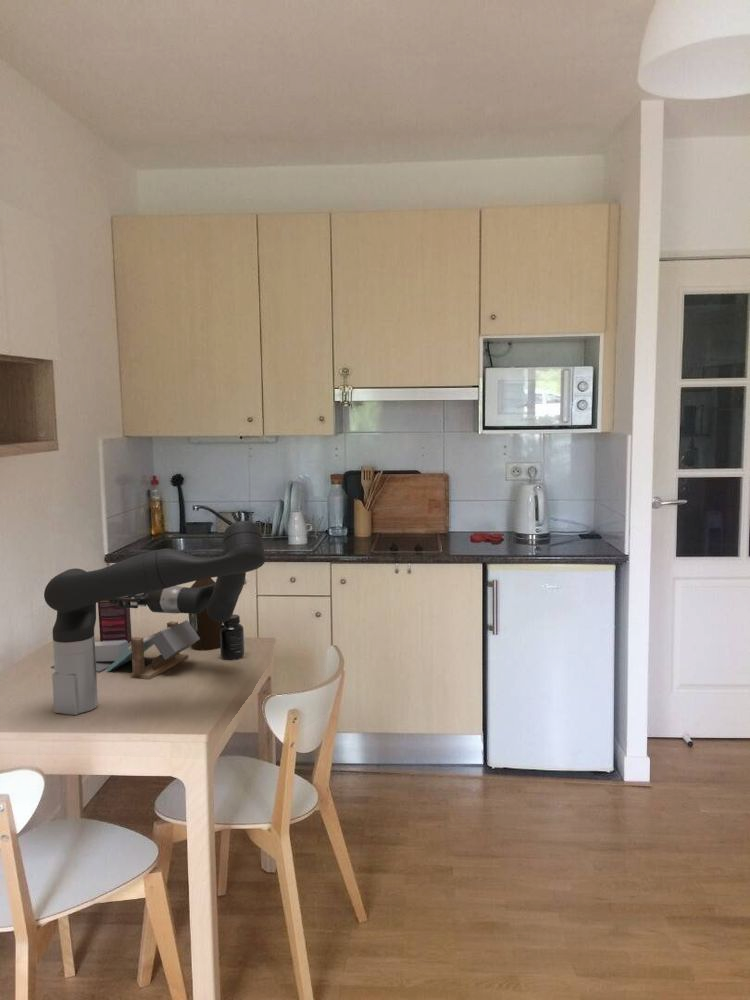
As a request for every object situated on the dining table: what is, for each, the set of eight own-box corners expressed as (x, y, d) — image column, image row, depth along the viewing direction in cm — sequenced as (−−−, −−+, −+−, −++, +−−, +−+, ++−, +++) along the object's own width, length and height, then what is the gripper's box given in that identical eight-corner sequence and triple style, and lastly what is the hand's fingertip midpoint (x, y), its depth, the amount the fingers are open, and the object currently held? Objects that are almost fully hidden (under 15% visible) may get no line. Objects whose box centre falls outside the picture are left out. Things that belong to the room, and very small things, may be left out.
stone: (118, 645, 215) (75, 646, 219) (120, 660, 216) (77, 661, 220) (127, 640, 220) (85, 642, 224) (129, 656, 220) (87, 657, 224)
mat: (99, 672, 211) (99, 671, 211) (51, 667, 216) (51, 666, 216) (134, 655, 226) (134, 654, 226) (88, 651, 231) (88, 650, 231)
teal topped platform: (201, 638, 218) (184, 614, 219) (174, 652, 204) (156, 627, 205) (152, 677, 224) (136, 653, 225) (122, 693, 211) (105, 668, 212)
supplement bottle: (216, 656, 224) (214, 616, 222) (237, 651, 228) (235, 612, 227) (228, 661, 218) (226, 620, 217) (249, 656, 223) (247, 616, 222)
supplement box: (132, 642, 240) (129, 592, 239) (128, 646, 235) (125, 595, 234) (104, 643, 240) (101, 593, 238) (99, 647, 235) (96, 596, 233)
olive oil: (219, 639, 242) (215, 560, 239) (229, 647, 233) (226, 565, 230) (185, 644, 237) (181, 564, 234) (194, 653, 228) (190, 569, 225)
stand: (188, 658, 223) (186, 622, 222) (149, 679, 204) (148, 640, 203) (170, 656, 224) (168, 621, 223) (130, 677, 206) (128, 639, 205)
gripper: (182, 580, 218) (133, 578, 223) (153, 591, 204) (101, 588, 209) (183, 606, 219) (134, 603, 223) (155, 619, 205) (103, 615, 210)
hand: (118, 596), depth 216 cm, fingers open, 8 cm apart
